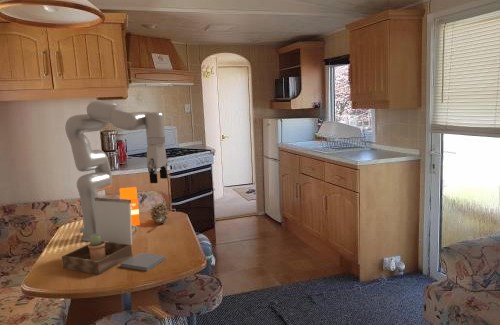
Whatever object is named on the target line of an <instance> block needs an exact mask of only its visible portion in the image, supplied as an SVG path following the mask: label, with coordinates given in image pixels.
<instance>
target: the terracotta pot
mask: <svg viewBox="0 0 500 325" xmlns="http://www.w3.org/2000/svg"><path fill="white" fill-rule="evenodd" d="M105 242H106V241H102V236H101V235H100V234H93V235H92V236H91V237H90V241H89V243H88V244H87V245H88V249H89V251H90V257H89V258H90V259H89V260H95V261H99V260H101V259H103V258H105V257H107V254H106V253H105V246H106V243H105Z"/></svg>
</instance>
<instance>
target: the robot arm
mask: <svg viewBox="0 0 500 325" xmlns="http://www.w3.org/2000/svg"><path fill="white" fill-rule="evenodd" d="M86 113H87V114H86ZM86 113H83V114H76V115H72V116H70V117H69V118H68V119H66V122H65V127H64V128H65V133H66V137H67V138H68V141H69V143H70V147H71V148H70V149H71V152H72V157H73V160H74V164H75V168H76V169H77V171H79V172H84V173H85V172H90V171H95V172H91V173H86V174H83V175H81V176H80V177H79V178H78V179H77V181H76V189H77V191H78V195H79V198H80V205H81V207H80V208H81V214H82V223H83V227H81V228H80V229H79V233H81V234H82V235H81V240H82V241H84V242H90V237H91V236H92V235H93V234H96V217H95V197H101V196H100V195H99V194H98V193H99V192H102V191H106V190H108V189H109V188H111V187H112V186H113V175H112V171H111V165H110V162H109V159H108V158H109V157H108V155H107V153H106V152H104V151H103V150H102V149H93V148H92V147H91V142H90V140H89V139H88V137H87V136H86V135H85V134H84V133H92V132H99V131H101V130H103V129H105V128H106V127H107V126H108V125H109V124H111V125H112V126H113V127H114V128H116V129H119V130H120V129H121V130H124V131H138V130H145V133H146V134H145V135H146V145H147V146H146V147H147V148H146V167H147V172H148V175H149V183H150V184H158V174H157V170H158V169H159V178H160V179H161V180H163V179H164V180H165V179H166V180H167V179H168V158H167V152H166V147H165V145H166V136H165V135H166V134H165V123H164V121H165V120H164V114H163V113H162V111H161V112H160V111H151V112H150V111H133V112H127V111H124V110H123V108H122V107H121V106H120V105H118V104H117V103H116V102H114V101H112V100H94V101H91V102H90V103H88V104H87V106H86Z"/></svg>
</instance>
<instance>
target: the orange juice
mask: <svg viewBox="0 0 500 325" xmlns="http://www.w3.org/2000/svg"><path fill="white" fill-rule="evenodd" d="M137 191H138V190H137V186H133V187H121V188H119V199H129V200H131V226H132V225H135V226H139V225H141V224H140V210H139V201H138V192H137Z"/></svg>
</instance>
